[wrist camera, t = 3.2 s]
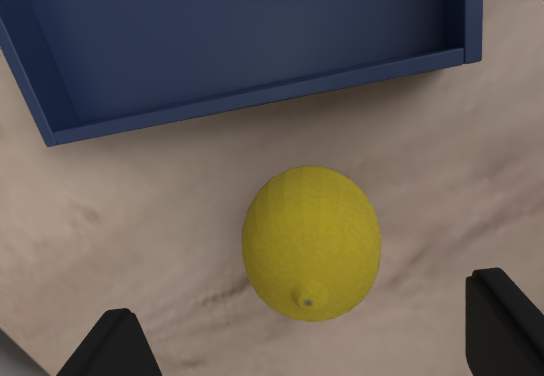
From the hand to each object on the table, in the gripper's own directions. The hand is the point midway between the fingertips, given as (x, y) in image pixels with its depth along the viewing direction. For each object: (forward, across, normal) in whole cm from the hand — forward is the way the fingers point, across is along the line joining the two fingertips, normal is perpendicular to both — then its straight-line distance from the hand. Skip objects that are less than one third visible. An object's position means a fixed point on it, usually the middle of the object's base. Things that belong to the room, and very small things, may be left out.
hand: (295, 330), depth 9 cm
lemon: (+9, -1, 0) cm, 9 cm away
